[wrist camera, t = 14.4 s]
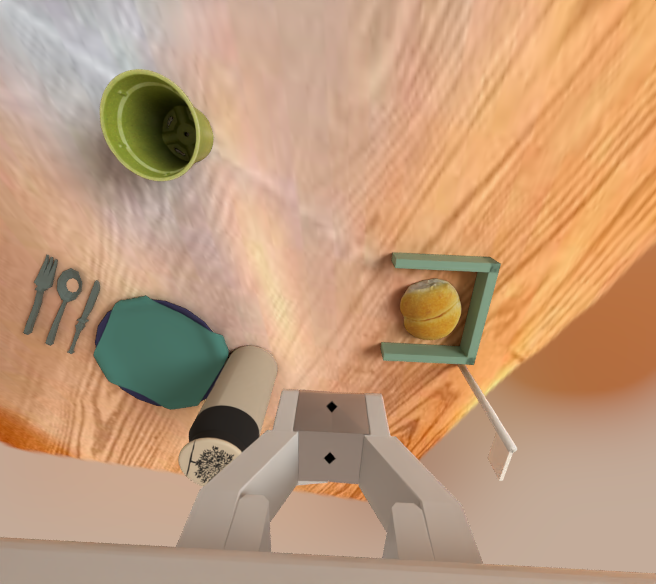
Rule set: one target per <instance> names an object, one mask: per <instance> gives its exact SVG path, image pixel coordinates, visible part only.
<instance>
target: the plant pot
mask: <svg viewBox="0 0 656 584" xmlns="http://www.w3.org/2000/svg"><path fill="white" fill-rule="evenodd" d="M190 112H191V113H192V114H190ZM170 117H173V120H172V121H171V123H170V126H169V128H168V126H167V123H168V119H169V118H170ZM100 123H101V128H102V132H103V135H104V138H105V140H106V142H107V144H108V146H109V148H110V149H111V151H112V152H113V154H114V155H115V156H116V158H117V159H118V160H119V161H120V162H121V163H122V164H123V165H124V166H125V167H126V168H127V169H129V170H130V171H132V172H133V173H135V174H136V175H138V176H140V177H143V178H145V179H149V180H153V181H169V180H173V179H176V178H178V177H180V176H182V175H183V174H185V173H186V172H187V171H188V170H189V169H190V168H191V167H192V165H193V164H194V163H196V162H198V161H201V160H202V159H204V158H205V157H206V156H207V155H208V154H209V153H210V151H211V149H212V145H213V133H212V129H211V126H210V123H209V121H208V120H207V118H206V117H205V116H204V115H203V114H202V113H201V112H200V111H199V110H198V109H196V108H195V107H194V106H193V105H192V103H191V102H190V100H189V99H188V97H187V96H186V95H185V93H184V92H183V91H182V90H181V89H180V88H179V87H178V86H177V85H176V84H175V83H174V82H172V81H171V80H169V79H168V78H166V77H164V76H163V75H161V74H158V73H156V72H153V71H149V70H142V69H136V70H130V71H126V72H123V73H121V74H119V75H117V76H116V77H115V78H114V79H113V80H112V81H111V82H110V83H109V84H108V86H107V87H106V89H105V91H104V92H103V95H102V99H101V104H100ZM185 132H188V134H189V136H185V134H184V133H185ZM175 148H177V149H178V150H180V151H181V152H183V153H185V155H184V156H183V155H181V154H180V153H177V152H176V151H175Z"/></svg>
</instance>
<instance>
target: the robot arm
mask: <svg viewBox="0 0 656 584" xmlns="http://www.w3.org/2000/svg"><path fill="white" fill-rule="evenodd" d="M328 479H329V481H328ZM298 481H322V482H338V483H350V484H359V487H360V489H361V491H362V492H363V494H364V496H365V497H366V499H367V500H368V502H369V504H370V505H371V507H372V509H373V510H374V512H375V514H376V515H377V517H378V519H379V520H380V522H381V523H382V525H383V527H384V529H385V530H386V532H387V536H386V541H385V547H384V552H383V557H382V558H365V557H346V556H329V555H311V554H293V553H275V552H274V553H273V552H271V540H270V522H271V520H272V519H273V518H274V516H275V515H276V513H277V512H278V510H279V509H280V508H281V506H282V505H283V503H284V502H285V501H286V499H287V498H288V496H289V495H290V494H291V492H292V491H293V489H294V488H295V487H296V485H297V484H298ZM0 584H656V573H639V572H621V571H603V570H584V569H566V568H549V567H531V566H513V565H494V564H483V562H482V559H481V556H480V553H479V551H478V548H477V545H476V542H475V540H474V537H473V534H472V532H471V529H470V526H469V523H468V520H467V518H466V515H465V512H464V509H463V507H462V504H461V503H460V502H459V501H458V500H457V499H456V498H455V497H454V496H453V495H452V494H451V493H450V492H449V491H448V490H447V489H446V488H445V487H444V486H443V485H442V484H441V483H440V482H439V481H438V480H437V479H436V478H435V477H434V476H433V475H432V474H431V473H430V472H429V470H428V469H426V467H424V466H423V464H422V463H421V462H420V461H419V460H418V459H417V458H416V457H415V456H414V455H413V454H412V453H411V452H410V451H409V450H408V449H407V448H406V447H405V446H404V445H403V444H402V443H401V442H400V441H399V440H398V439H397V438H396V437H393V436H390V432H389V427H388V422H387V417H386V412H385V407H384V402H383V396H382V395H381V394H378V393H342V392H325V391H311V390H294V389H283V391H282V392H281V397H280V401H279V405H278V409H277V413H276V417H275V421H274V426H273V430H267V431H266V432H265V433H263V434H262V435H261V436H260V437H259V438H258V439H257V440H256V441H254V442H253V443H252V444H251V445H250V446H249V447H248V448H247V449H245V450H244V451H243V452H242V453H241V454H240V455H239V456H238V457H236V458H235V459H234V460H233V461H232V462H231V463H230V464H228V465H227V466H226V467H225V468H224V469H223V470H222V471H221V472H219V473H218V474H217V475H216V476H215V477H214V478H213V479H212V480H210V481H209V482H208V483H207V484H206V485H205V486H204V487H203V488H202V489H200V491H199V493H198V496H197V498H196V500H195V503H194V505H193V507H192V510H191V512H190V515H189V517H188V519H187V522H186V524H185V526H184V529H183V531H182V533H181V536H180V538H179V540H178V543H177V545H176V547H167V546H148V545H130V544H112V543H94V542H76V541H58V540H39V539H21V538H4V537H0Z"/></svg>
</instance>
